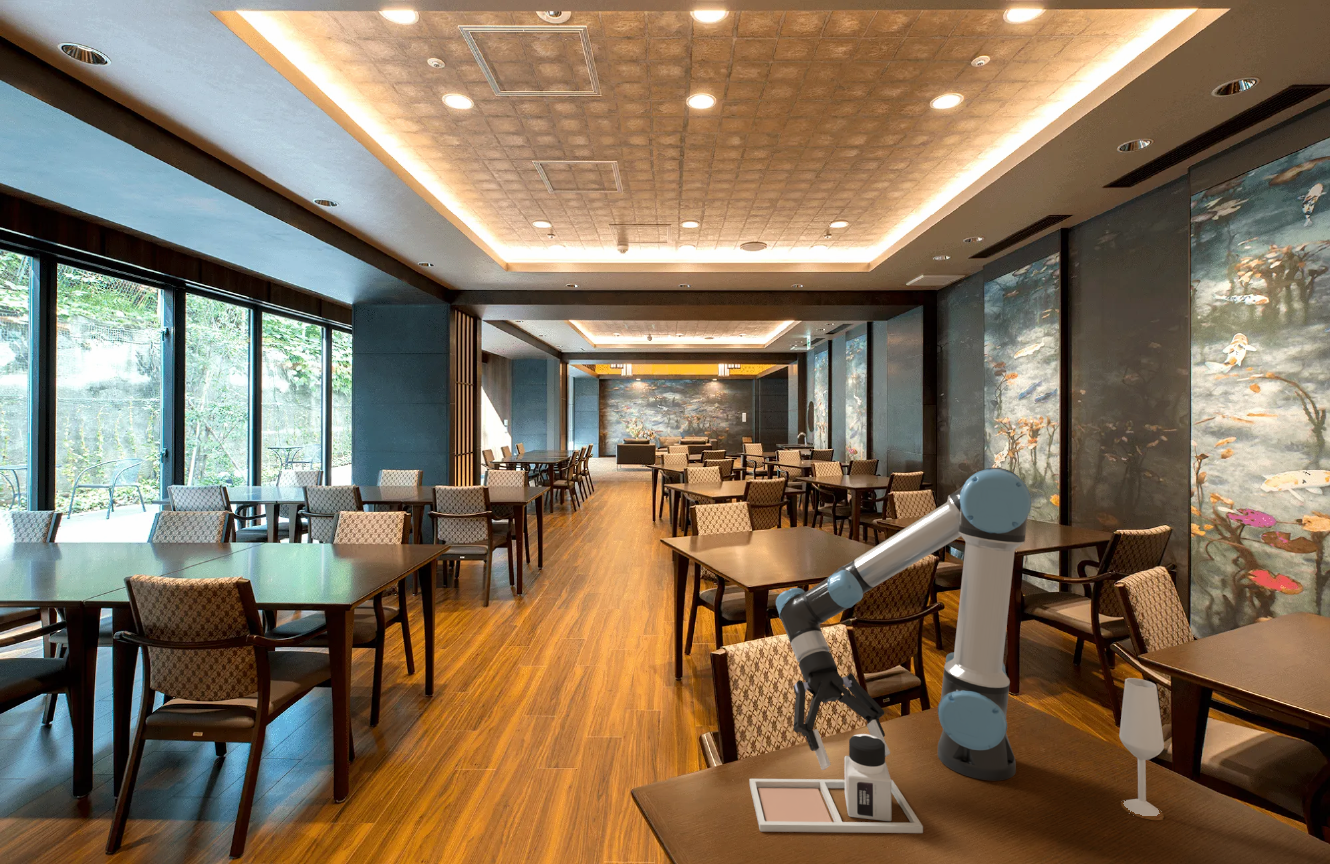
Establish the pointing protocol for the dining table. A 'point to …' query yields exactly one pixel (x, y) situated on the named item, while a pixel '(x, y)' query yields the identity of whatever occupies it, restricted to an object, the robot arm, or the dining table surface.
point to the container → (867, 779)
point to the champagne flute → (1141, 735)
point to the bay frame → (816, 808)
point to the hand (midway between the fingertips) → (856, 761)
